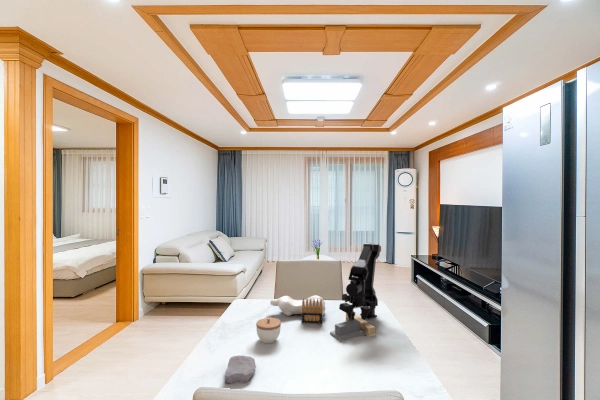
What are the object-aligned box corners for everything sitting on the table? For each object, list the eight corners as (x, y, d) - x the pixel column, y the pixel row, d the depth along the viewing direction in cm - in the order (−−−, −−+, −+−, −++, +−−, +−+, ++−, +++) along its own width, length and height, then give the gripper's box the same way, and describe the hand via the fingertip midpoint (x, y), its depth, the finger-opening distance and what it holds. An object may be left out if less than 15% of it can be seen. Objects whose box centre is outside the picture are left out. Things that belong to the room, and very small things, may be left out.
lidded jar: (284, 337, 131) (285, 316, 132) (272, 348, 122) (273, 325, 122) (264, 332, 136) (264, 312, 136) (251, 342, 126) (251, 321, 126)
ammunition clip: (322, 322, 149) (322, 298, 149) (322, 323, 147) (322, 299, 147) (301, 321, 149) (301, 297, 149) (301, 323, 147) (301, 299, 147)
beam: (345, 320, 152) (345, 312, 152) (351, 319, 153) (351, 311, 153) (368, 337, 133) (368, 328, 133) (374, 335, 135) (374, 327, 135)
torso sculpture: (323, 312, 167) (271, 305, 169) (325, 294, 167) (273, 287, 169) (324, 324, 151) (266, 316, 153) (326, 303, 151) (269, 296, 153)
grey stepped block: (353, 327, 142) (353, 317, 143) (364, 333, 136) (364, 322, 136) (330, 334, 135) (330, 323, 135) (341, 341, 128) (341, 329, 128)
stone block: (254, 368, 110) (228, 364, 109) (257, 356, 110) (230, 352, 109) (252, 390, 98) (222, 385, 97) (255, 376, 98) (225, 371, 97)
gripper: (361, 285, 155) (360, 315, 154) (333, 288, 145) (331, 320, 145) (377, 291, 145) (375, 323, 145) (347, 295, 136) (345, 329, 135)
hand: (356, 323), depth 143 cm, fingers open, 7 cm apart
